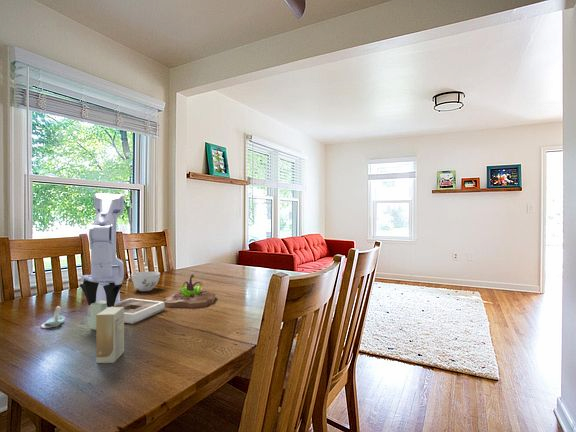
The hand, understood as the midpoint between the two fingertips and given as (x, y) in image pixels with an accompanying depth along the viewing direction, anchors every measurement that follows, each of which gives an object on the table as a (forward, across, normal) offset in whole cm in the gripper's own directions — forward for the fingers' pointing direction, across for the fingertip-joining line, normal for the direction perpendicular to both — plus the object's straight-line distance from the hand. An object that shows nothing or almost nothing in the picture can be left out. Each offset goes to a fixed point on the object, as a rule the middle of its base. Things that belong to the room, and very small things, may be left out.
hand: (101, 305), depth 102 cm
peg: (+7, 0, 0) cm, 7 cm away
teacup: (+7, -22, +46) cm, 52 cm away
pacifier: (+7, -16, -3) cm, 18 cm away
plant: (+8, +10, +36) cm, 38 cm away
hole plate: (+7, -1, +14) cm, 16 cm away
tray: (+7, -1, +14) cm, 16 cm away
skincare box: (+7, +20, -16) cm, 27 cm away
